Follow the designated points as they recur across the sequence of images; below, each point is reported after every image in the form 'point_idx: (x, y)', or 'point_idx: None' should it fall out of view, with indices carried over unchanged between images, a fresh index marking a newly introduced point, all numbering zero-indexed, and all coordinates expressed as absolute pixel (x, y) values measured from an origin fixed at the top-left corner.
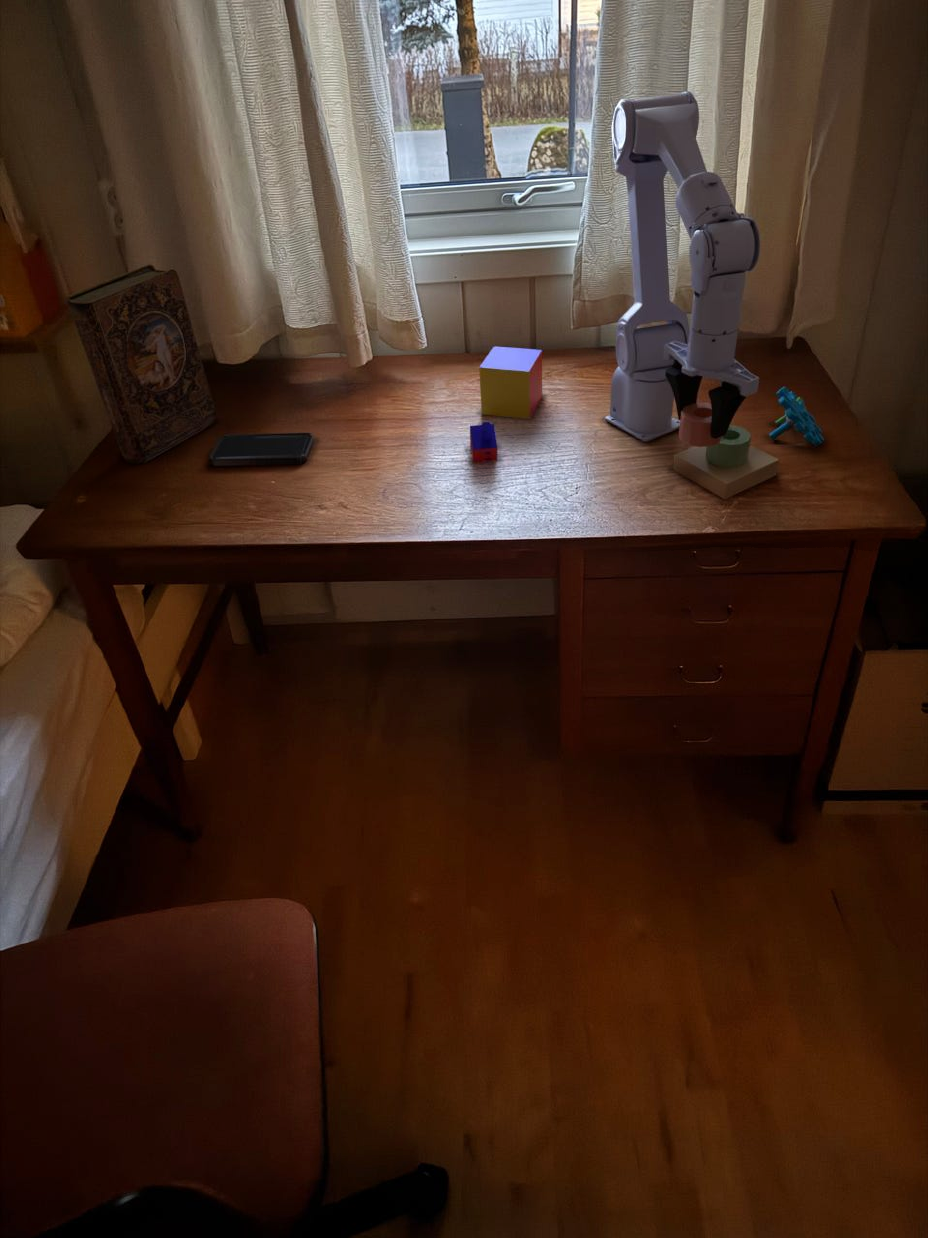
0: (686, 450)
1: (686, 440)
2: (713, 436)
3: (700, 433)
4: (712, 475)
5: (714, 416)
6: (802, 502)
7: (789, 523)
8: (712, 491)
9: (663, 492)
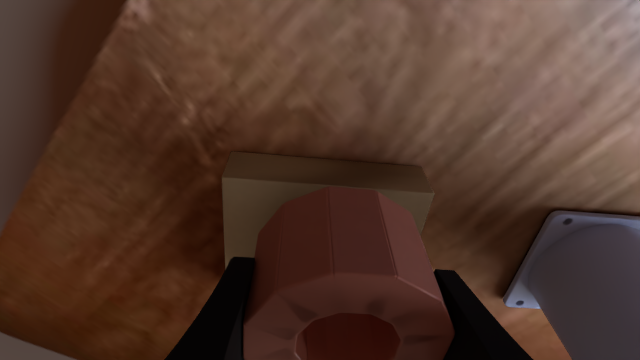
0: (418, 226)
1: (347, 195)
2: (236, 261)
3: (284, 242)
4: (281, 182)
5: (204, 350)
6: (120, 249)
7: (58, 175)
8: (274, 155)
9: (373, 64)
